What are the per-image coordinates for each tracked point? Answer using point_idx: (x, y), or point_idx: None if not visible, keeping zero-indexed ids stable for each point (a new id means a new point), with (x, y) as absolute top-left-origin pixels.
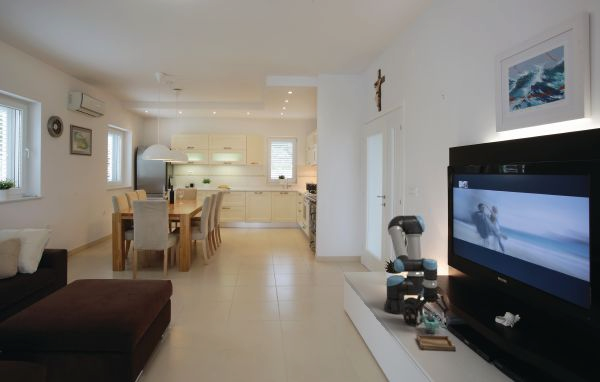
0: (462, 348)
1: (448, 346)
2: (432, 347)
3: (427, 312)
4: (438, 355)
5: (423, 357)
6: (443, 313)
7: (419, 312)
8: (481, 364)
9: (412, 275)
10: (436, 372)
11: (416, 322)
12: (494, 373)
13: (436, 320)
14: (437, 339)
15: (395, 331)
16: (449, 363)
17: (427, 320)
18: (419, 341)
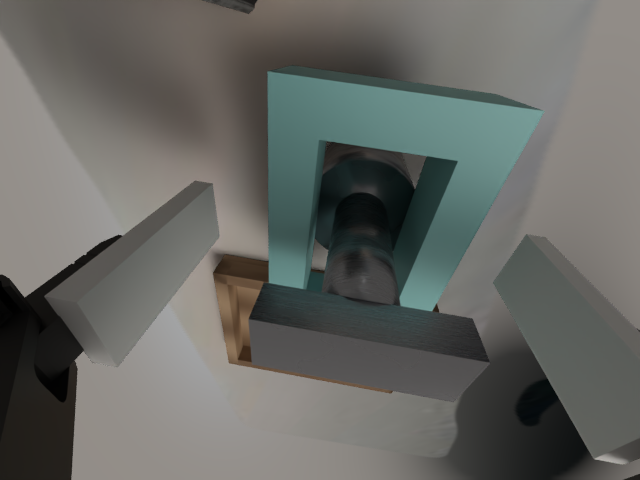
0: None
1: (359, 385)
2: None
3: (286, 365)
4: (297, 377)
5: (235, 376)
6: (598, 440)
7: (123, 357)
8: (427, 428)
9: None
10: (260, 422)
11: (228, 6)
12: (428, 451)
13: (426, 296)
14: None
15: (55, 124)
16: (317, 408)
17: (301, 282)
18: (224, 329)
